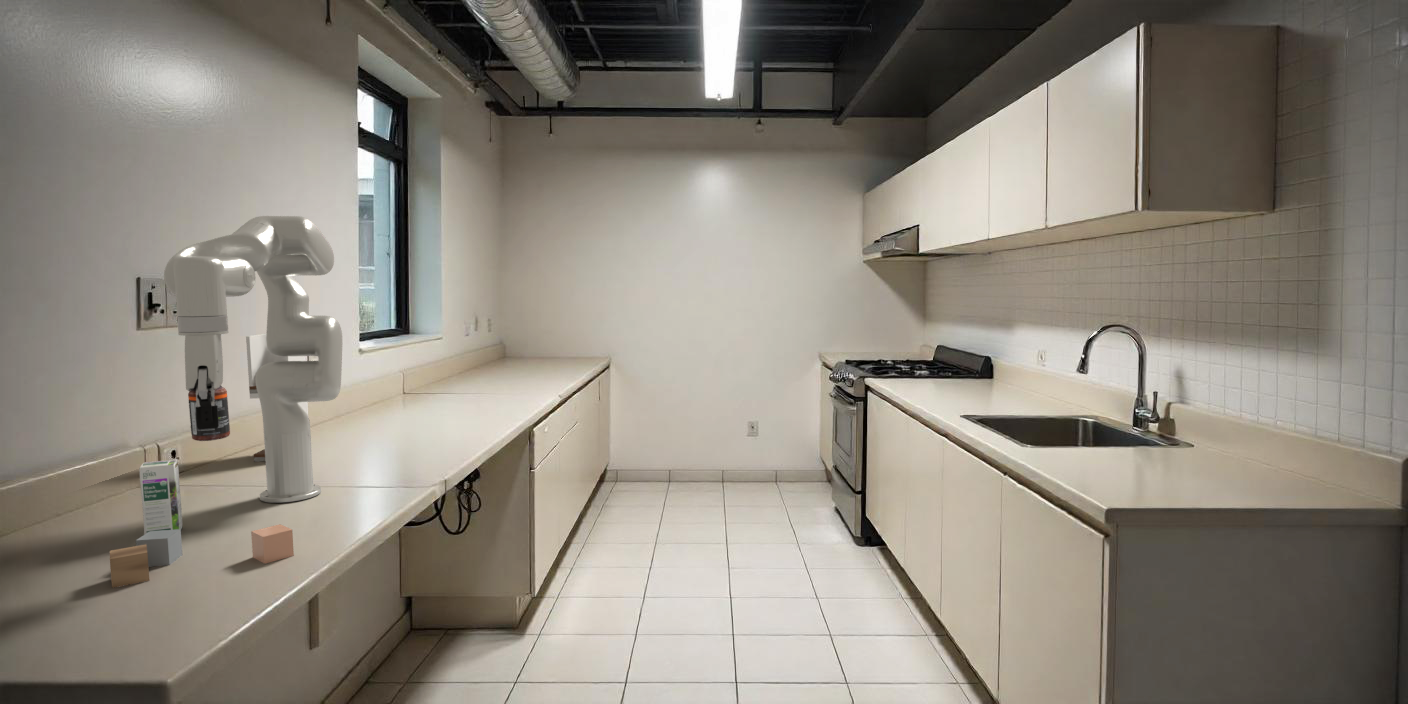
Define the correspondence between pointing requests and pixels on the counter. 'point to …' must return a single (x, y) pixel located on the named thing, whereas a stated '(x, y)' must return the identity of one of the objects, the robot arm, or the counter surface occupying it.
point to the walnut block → (129, 565)
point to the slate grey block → (162, 546)
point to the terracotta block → (272, 543)
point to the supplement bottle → (223, 417)
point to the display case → (256, 359)
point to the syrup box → (161, 495)
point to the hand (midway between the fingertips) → (210, 424)
